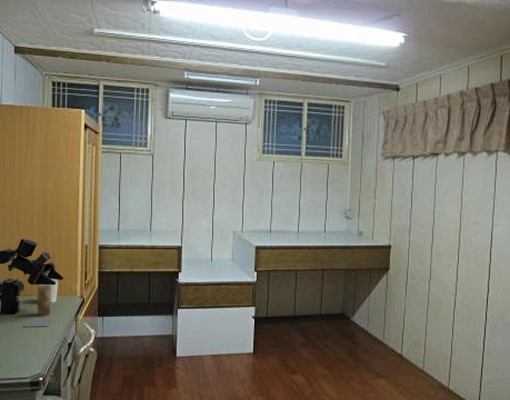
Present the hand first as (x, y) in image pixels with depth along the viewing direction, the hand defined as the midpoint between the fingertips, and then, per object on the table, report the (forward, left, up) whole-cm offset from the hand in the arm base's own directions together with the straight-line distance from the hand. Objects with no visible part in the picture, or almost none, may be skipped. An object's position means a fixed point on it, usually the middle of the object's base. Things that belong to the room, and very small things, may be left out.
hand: (59, 281), depth 204 cm
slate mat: (-5, -14, -14) cm, 21 cm away
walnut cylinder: (-6, -1, -14) cm, 15 cm away
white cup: (-9, +21, -14) cm, 27 cm away
